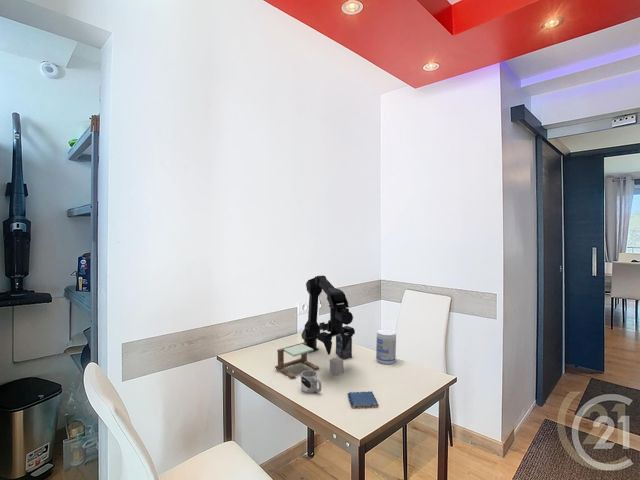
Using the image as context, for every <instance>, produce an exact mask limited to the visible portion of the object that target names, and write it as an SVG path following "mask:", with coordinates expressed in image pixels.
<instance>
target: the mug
mask: <svg viewBox="0 0 640 480" xmlns="http://www.w3.org/2000/svg"><path fill="white" fill-rule="evenodd" d="M300 391H301V392H302V393H305V394H313V393H315V392H319V393H320V392H321V391H322V380H320V379H319V378H318V372H317V370H314V369H308V370H303V371H302V372H301V373H300Z"/></svg>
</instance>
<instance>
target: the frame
mask: <svg viewBox="0 0 640 480" xmlns="http://www.w3.org/2000/svg"><path fill="white" fill-rule="evenodd" d="M300 344H303V345H306V346H307V343H306V342H304V341H303V342H300V343H297V344H294V345H290V346H286V347H282V348H278V349H277V365H275V366H274V369H275V368H276V369H277V370H276V369H275V370H276V371H278V370H279V371H280V373H281V374H283V375H284V376H286V377H287V376H288V378H289V379H291V380H294V379H296V374H294V373H293V372H291V371H289V370H287V369H286V368H288V366H289V367H292V366H294V365H298V364H302V365H305V366H306V367H309V369H311V370H313V371H319V370H320V367H319V366H318V365H316V364H314V363H313V362H311V361H308V353H304V354H301V355H300V358H298V359H296V358H295V359H294V360H291V361H287V362H284V361H285V352H284V350H283V349H285V348H289V347H292V346H296V345H300ZM291 365H292V366H291ZM279 371H278V372H279Z"/></svg>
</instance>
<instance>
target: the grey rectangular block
mask: <svg viewBox="0 0 640 480" xmlns="http://www.w3.org/2000/svg"><path fill="white" fill-rule="evenodd" d="M329 373H330V374H332V375H334V376H339V375H341V374H344V359H342V358H341V357H339V356H338V357H337V356H336V357H333V358H331V359H329Z"/></svg>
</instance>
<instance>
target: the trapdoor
mask: <svg viewBox="0 0 640 480" xmlns="http://www.w3.org/2000/svg"><path fill="white" fill-rule="evenodd" d="M299 344H300V343H299ZM295 345H296V344H295ZM291 346H292V347H289V346H288V347H289V348H286V347H284V348H285V349H283V350H284V353H286V354H288V355H290V356H292V357H297V356H301V354H304V353H307V354H308V353H311V351H312V352H314V351H313V349H312V348H310V347H308V346H306V345H303V344H300V345H296V346H293V345H291Z"/></svg>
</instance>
